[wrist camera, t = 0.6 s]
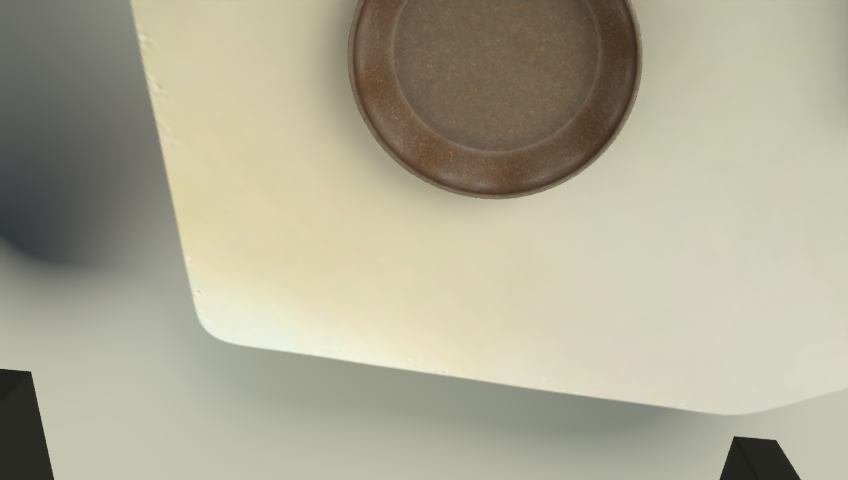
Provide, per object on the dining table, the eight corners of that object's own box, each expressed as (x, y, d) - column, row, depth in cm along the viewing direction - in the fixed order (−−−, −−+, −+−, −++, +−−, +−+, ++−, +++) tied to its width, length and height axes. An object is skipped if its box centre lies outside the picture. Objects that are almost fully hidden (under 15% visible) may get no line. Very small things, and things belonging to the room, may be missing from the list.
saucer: (304, 15, 36) (288, 31, 34) (545, -168, 29) (544, -163, 27) (456, 214, 42) (451, 238, 40) (684, 97, 35) (693, 119, 33)
